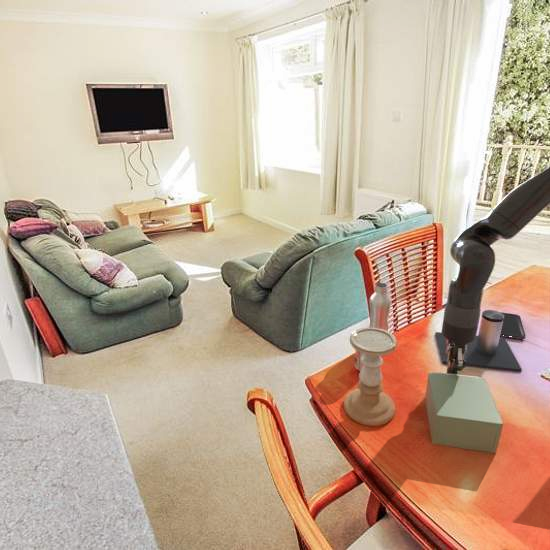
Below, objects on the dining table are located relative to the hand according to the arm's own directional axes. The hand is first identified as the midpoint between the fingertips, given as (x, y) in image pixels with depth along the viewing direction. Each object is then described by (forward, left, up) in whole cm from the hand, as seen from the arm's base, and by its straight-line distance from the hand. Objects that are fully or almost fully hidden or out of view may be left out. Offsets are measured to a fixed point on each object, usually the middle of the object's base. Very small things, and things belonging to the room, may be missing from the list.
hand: (451, 377), depth 95 cm
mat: (-10, -20, -4) cm, 22 cm away
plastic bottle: (+18, -20, -4) cm, 27 cm away
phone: (-23, -36, -4) cm, 43 cm away
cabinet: (0, +11, -4) cm, 12 cm away
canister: (-13, -20, -3) cm, 24 cm away
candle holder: (+20, +10, -4) cm, 23 cm away
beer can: (+22, -6, -4) cm, 23 cm away
